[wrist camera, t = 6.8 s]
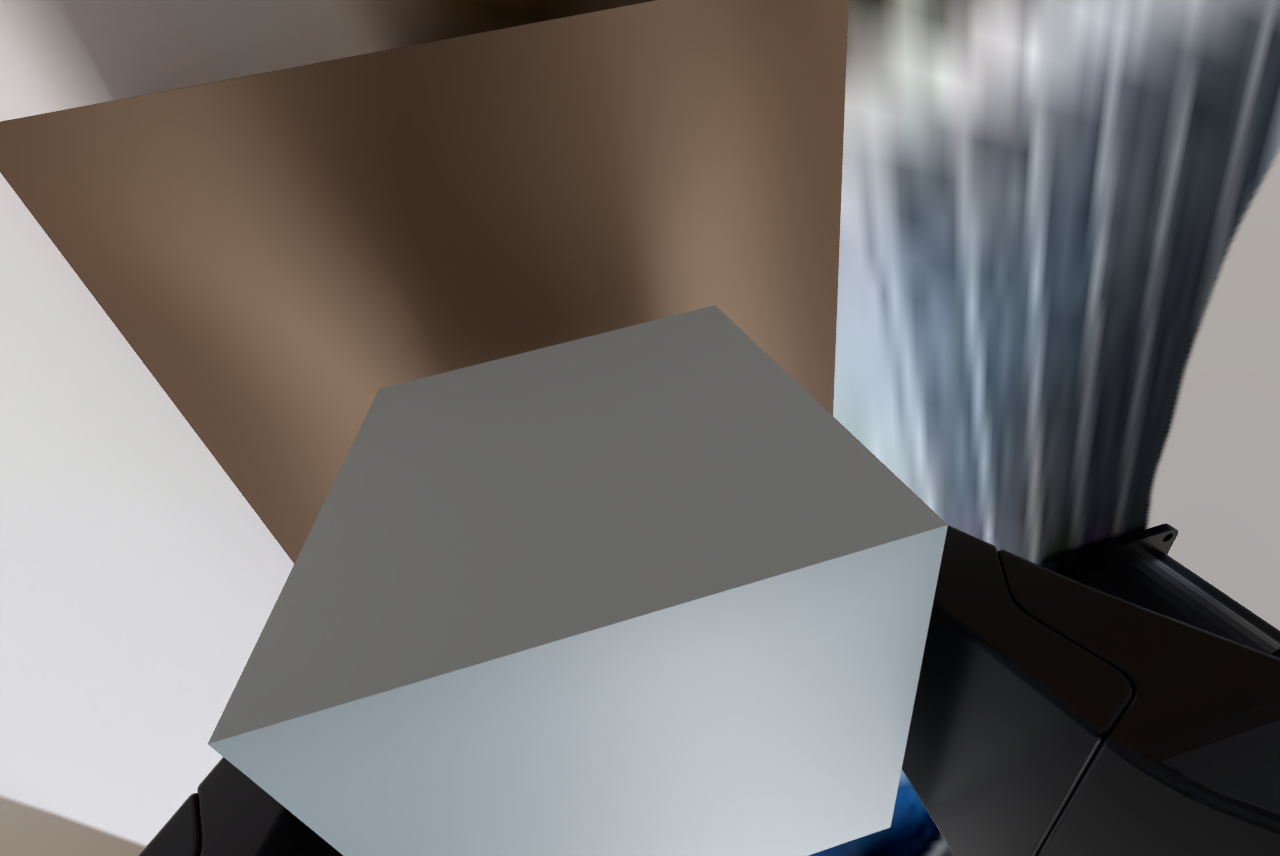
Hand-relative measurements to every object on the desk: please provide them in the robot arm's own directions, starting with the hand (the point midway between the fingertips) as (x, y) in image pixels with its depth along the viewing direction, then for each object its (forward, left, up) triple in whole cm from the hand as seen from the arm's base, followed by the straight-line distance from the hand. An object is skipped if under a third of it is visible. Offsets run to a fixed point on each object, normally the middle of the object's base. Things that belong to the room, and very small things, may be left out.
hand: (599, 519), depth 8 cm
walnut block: (+1, 0, -8) cm, 8 cm away
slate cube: (0, 0, -1) cm, 1 cm away
